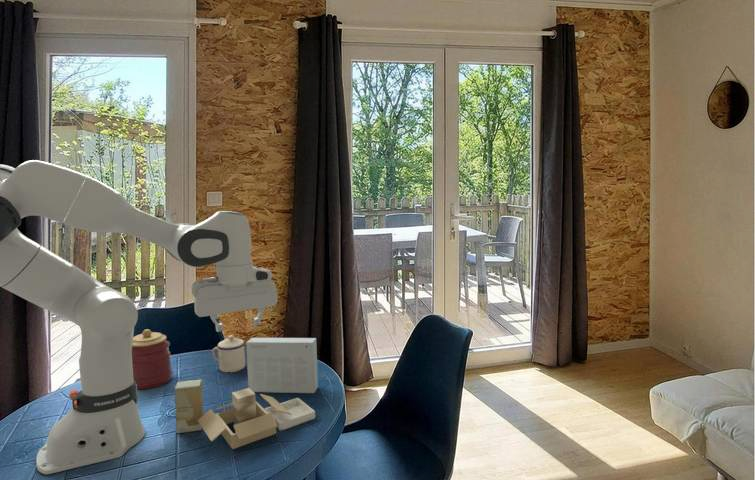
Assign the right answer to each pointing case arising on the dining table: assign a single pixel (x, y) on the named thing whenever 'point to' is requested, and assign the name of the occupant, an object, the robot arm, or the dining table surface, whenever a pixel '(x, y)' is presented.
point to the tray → (292, 413)
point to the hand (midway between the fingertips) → (238, 327)
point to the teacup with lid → (230, 354)
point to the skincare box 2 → (282, 365)
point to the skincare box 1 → (188, 405)
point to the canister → (151, 359)
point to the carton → (241, 424)
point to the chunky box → (243, 405)
